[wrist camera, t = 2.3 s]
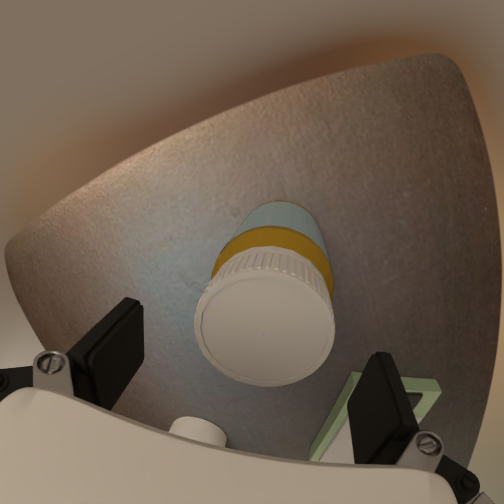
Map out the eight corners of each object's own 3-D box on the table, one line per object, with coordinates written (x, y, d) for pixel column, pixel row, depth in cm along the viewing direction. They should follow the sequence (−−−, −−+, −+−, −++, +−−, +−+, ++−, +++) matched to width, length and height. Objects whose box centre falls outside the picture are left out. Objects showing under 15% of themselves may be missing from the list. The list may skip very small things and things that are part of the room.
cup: (168, 411, 36) (125, 500, 21) (224, 421, 35) (195, 521, 20) (177, 442, 39) (144, 522, 24) (228, 452, 38) (204, 538, 23)
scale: (351, 370, 30) (355, 390, 27) (435, 378, 29) (444, 396, 26) (309, 447, 35) (309, 465, 32) (382, 451, 34) (385, 467, 31)
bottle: (310, 191, 25) (330, 240, 11) (326, 266, 27) (352, 381, 13) (232, 210, 26) (161, 277, 12) (253, 281, 28) (214, 398, 14)
